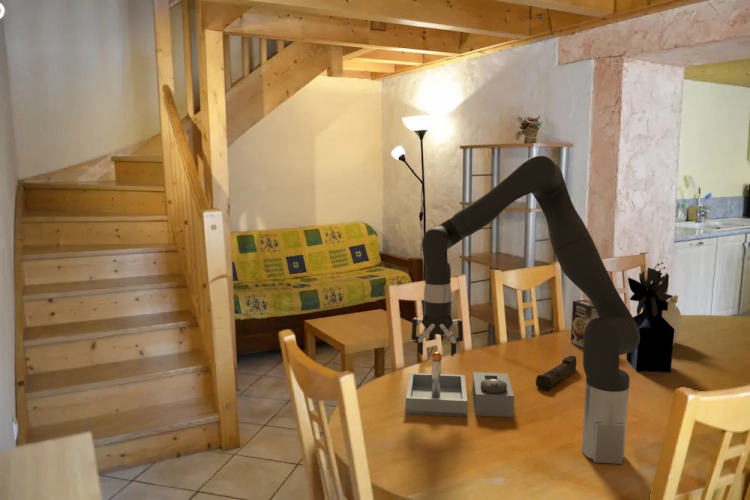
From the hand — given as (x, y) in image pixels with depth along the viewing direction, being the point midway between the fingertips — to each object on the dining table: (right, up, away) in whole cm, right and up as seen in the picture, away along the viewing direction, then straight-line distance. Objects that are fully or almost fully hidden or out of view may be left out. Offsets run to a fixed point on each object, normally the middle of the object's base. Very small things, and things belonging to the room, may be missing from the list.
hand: (436, 354), depth 161 cm
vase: (+73, -9, +29) cm, 79 cm away
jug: (+88, -5, +53) cm, 103 cm away
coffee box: (+60, -6, +50) cm, 79 cm away
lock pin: (0, -13, +2) cm, 13 cm away
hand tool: (+40, -11, +19) cm, 45 cm away
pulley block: (+15, -14, +1) cm, 21 cm away
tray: (0, -14, +3) cm, 14 cm away
